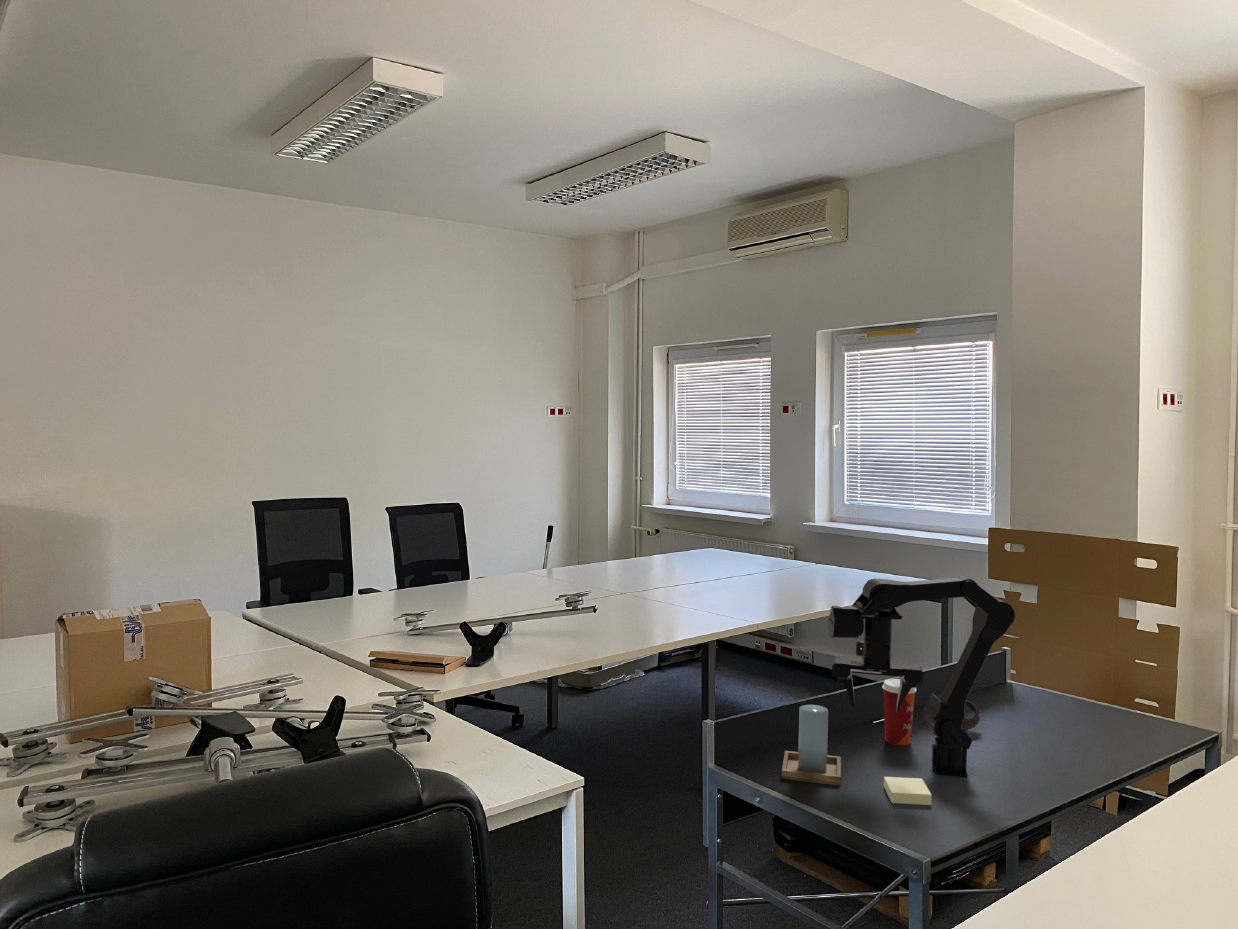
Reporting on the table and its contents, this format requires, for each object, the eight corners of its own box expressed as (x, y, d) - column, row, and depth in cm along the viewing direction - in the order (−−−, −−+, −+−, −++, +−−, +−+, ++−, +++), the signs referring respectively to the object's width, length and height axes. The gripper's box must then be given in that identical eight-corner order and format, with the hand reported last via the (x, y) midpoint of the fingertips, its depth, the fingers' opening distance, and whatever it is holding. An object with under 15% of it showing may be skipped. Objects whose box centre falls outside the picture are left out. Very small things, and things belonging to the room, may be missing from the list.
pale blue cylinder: (830, 767, 185) (832, 708, 185) (821, 777, 180) (822, 716, 179) (803, 761, 188) (805, 703, 188) (793, 770, 183) (795, 710, 183)
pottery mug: (975, 724, 216) (984, 702, 211) (970, 752, 209) (979, 729, 204) (926, 706, 220) (934, 684, 215) (920, 732, 213) (928, 710, 208)
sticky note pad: (921, 790, 177) (921, 778, 177) (931, 807, 169) (931, 794, 169) (883, 788, 178) (883, 776, 177) (891, 805, 170) (891, 792, 170)
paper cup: (916, 749, 198) (918, 689, 197) (882, 746, 199) (884, 686, 198) (912, 736, 205) (914, 679, 205) (879, 734, 207) (880, 676, 206)
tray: (840, 764, 188) (840, 756, 188) (840, 785, 178) (840, 777, 177) (784, 758, 191) (785, 750, 191) (781, 778, 181) (781, 770, 180)
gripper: (920, 632, 190) (917, 702, 191) (833, 626, 195) (831, 694, 196) (924, 645, 180) (922, 719, 180) (832, 638, 184) (830, 710, 185)
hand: (875, 709), depth 186 cm, fingers open, 9 cm apart
